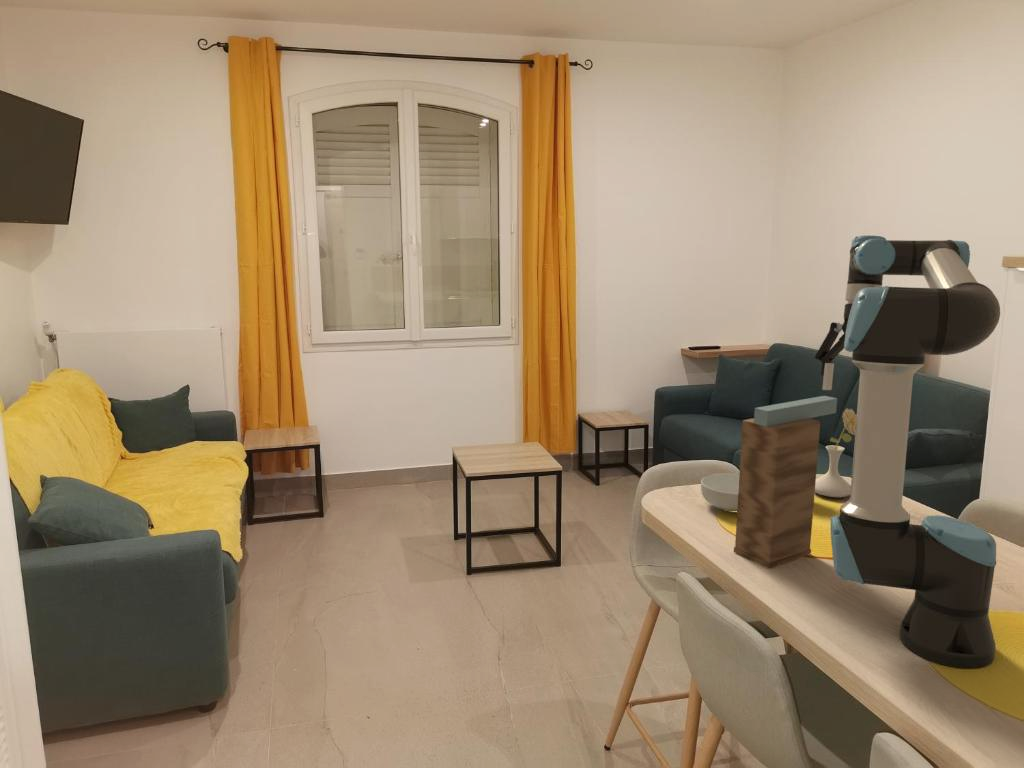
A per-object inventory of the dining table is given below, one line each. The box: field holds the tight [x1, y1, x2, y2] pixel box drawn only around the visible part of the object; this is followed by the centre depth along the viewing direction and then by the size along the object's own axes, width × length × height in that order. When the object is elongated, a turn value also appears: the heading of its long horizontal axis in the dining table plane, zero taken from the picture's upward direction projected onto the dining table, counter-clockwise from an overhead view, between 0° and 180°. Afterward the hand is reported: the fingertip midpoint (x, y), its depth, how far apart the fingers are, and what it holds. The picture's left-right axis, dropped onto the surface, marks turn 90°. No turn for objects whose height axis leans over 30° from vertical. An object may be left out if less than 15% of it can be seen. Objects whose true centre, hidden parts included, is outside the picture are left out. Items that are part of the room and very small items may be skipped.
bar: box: [753, 395, 838, 427], centre depth 175 cm, size 4×24×4 cm, turn 122°
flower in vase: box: [815, 408, 857, 498], centre depth 217 cm, size 13×11×25 cm
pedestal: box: [733, 418, 821, 569], centre depth 176 cm, size 10×14×32 cm
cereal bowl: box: [700, 472, 740, 512], centre depth 208 cm, size 17×17×7 cm
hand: (852, 393), depth 181 cm, fingers open, 13 cm apart
